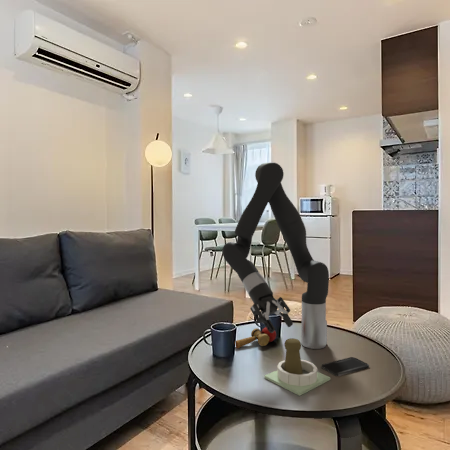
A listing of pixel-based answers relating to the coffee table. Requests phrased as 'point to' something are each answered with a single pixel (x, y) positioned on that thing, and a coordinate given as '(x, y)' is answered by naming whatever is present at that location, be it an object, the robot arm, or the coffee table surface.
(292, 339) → the cork
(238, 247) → the robot arm
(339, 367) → the phone
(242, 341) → the kendama
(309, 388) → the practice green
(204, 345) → the coffee table surface
